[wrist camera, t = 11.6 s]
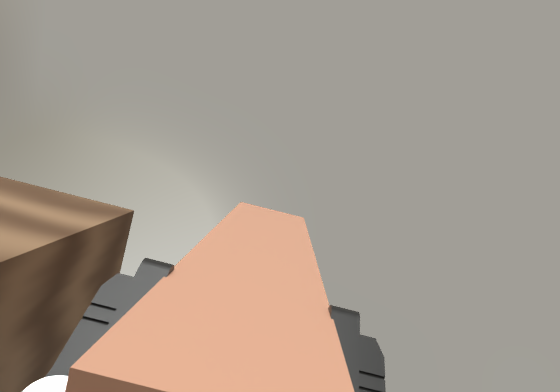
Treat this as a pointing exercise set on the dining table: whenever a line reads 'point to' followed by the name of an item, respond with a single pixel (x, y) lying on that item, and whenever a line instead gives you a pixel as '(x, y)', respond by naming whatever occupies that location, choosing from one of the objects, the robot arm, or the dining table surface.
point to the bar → (227, 319)
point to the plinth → (50, 272)
